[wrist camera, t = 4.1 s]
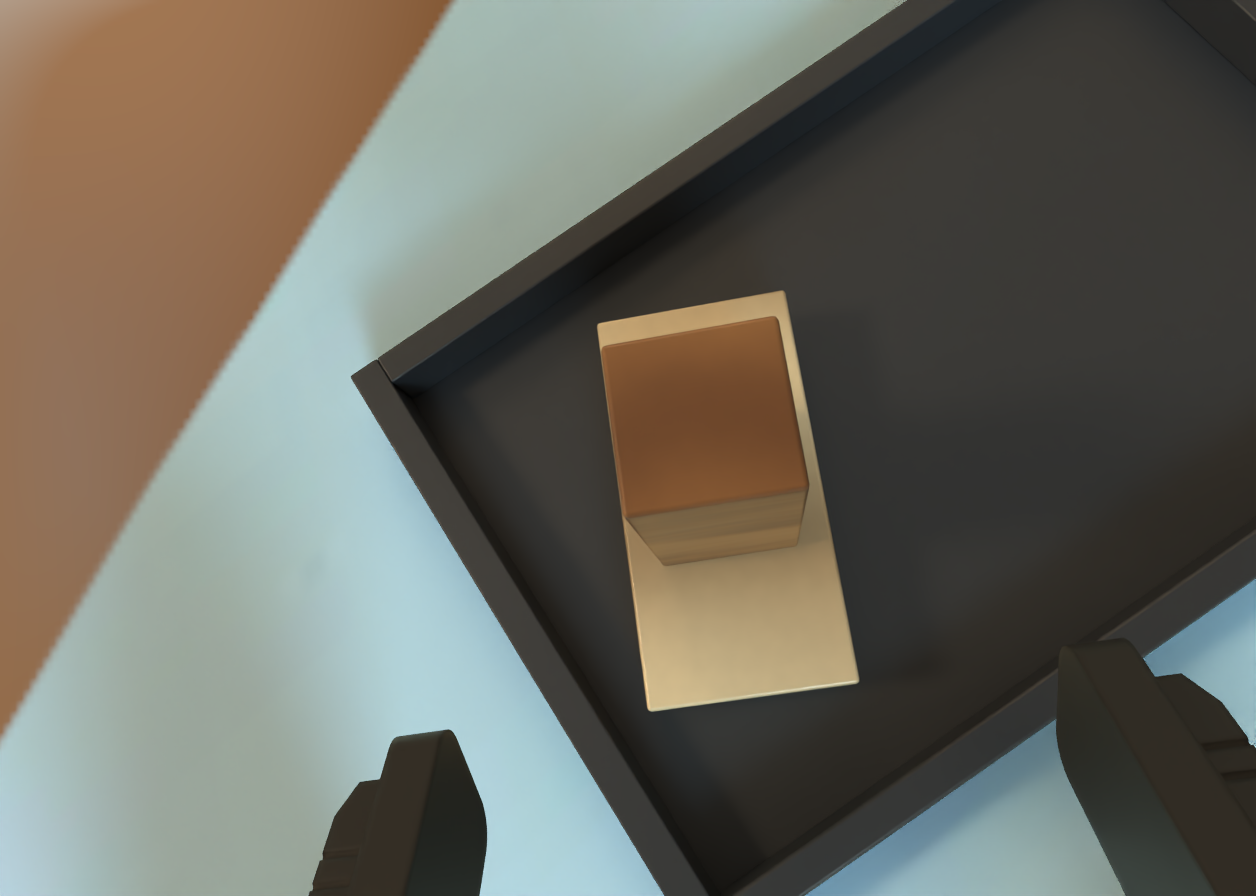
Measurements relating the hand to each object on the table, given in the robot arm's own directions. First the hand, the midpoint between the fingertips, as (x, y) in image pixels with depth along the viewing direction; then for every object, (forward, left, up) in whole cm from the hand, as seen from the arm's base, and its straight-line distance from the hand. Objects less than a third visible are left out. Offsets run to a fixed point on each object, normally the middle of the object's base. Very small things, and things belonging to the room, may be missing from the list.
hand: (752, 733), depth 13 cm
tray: (-8, -4, -10) cm, 14 cm away
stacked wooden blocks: (-2, -4, -9) cm, 11 cm away
